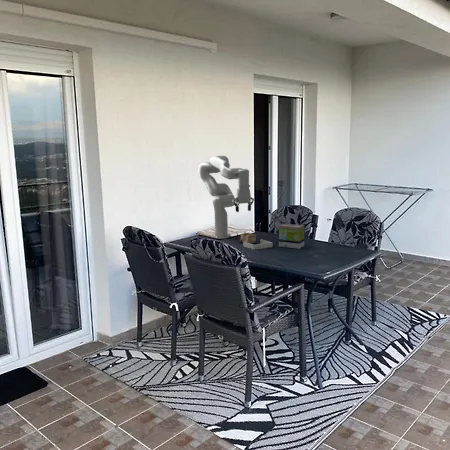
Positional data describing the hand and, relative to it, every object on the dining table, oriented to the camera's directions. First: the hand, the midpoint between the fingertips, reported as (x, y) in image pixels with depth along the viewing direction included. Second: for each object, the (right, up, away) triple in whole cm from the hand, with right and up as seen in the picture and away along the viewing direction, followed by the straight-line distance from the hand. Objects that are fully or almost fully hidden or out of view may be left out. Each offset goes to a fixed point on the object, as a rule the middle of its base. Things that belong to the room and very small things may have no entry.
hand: (243, 211), depth 328 cm
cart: (+3, -23, +1) cm, 23 cm away
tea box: (+32, -24, -11) cm, 42 cm away
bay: (+9, -24, -9) cm, 28 cm away
